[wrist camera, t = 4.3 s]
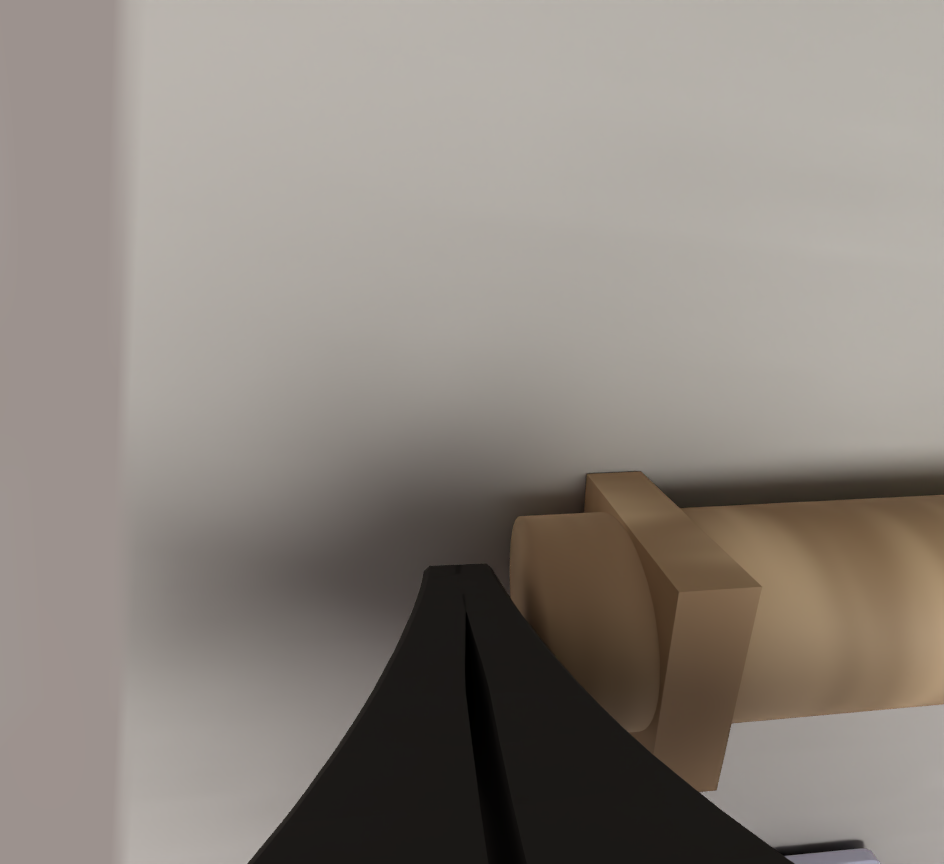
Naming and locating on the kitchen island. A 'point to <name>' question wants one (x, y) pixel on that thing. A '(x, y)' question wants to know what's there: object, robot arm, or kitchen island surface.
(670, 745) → the light wooden rod
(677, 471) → the kitchen island surface
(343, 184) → the kitchen island surface
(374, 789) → the robot arm
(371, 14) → the kitchen island surface
